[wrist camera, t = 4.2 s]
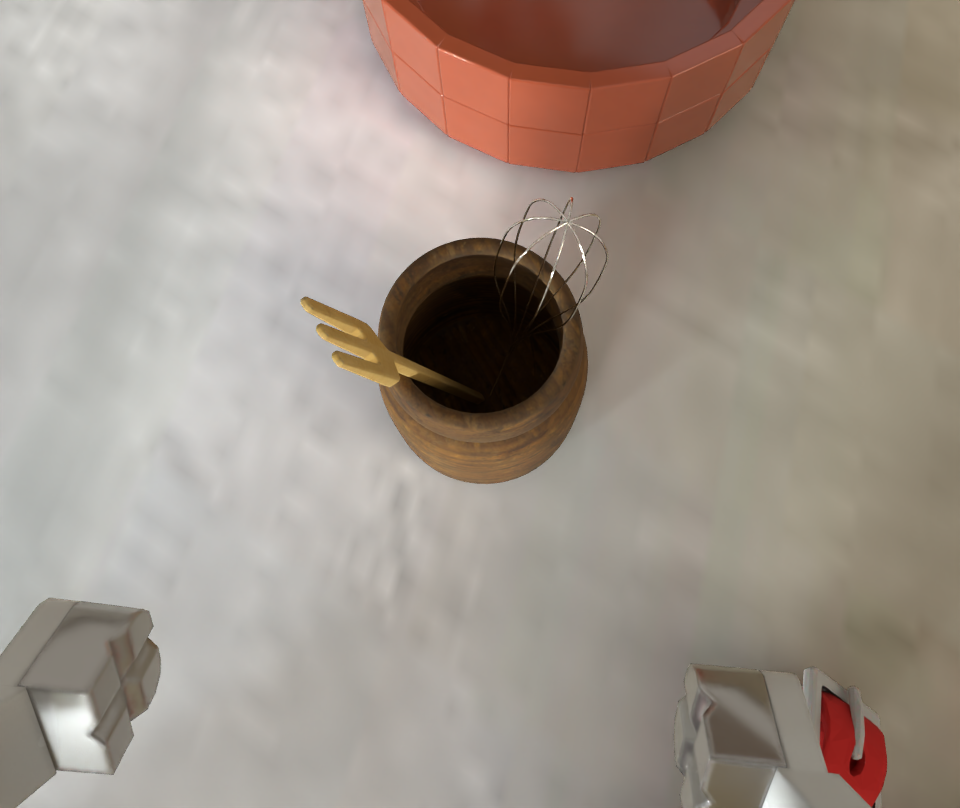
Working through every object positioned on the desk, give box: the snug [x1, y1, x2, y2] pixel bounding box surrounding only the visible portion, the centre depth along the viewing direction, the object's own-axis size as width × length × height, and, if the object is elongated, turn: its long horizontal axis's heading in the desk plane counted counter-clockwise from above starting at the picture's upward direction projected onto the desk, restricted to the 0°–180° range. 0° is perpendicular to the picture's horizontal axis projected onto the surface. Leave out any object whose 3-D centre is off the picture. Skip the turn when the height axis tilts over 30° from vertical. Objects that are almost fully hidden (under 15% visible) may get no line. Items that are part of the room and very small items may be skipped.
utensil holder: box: [301, 197, 608, 484], centre depth 21 cm, size 6×6×12 cm
